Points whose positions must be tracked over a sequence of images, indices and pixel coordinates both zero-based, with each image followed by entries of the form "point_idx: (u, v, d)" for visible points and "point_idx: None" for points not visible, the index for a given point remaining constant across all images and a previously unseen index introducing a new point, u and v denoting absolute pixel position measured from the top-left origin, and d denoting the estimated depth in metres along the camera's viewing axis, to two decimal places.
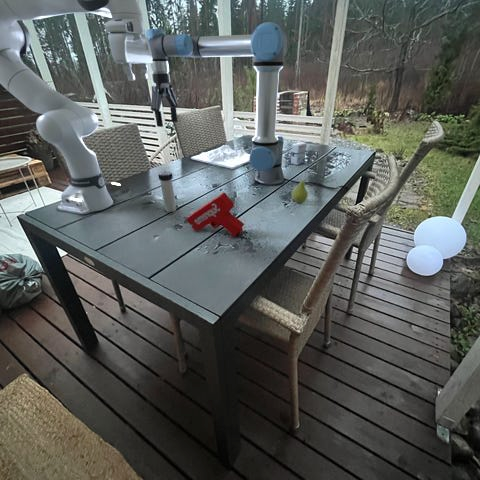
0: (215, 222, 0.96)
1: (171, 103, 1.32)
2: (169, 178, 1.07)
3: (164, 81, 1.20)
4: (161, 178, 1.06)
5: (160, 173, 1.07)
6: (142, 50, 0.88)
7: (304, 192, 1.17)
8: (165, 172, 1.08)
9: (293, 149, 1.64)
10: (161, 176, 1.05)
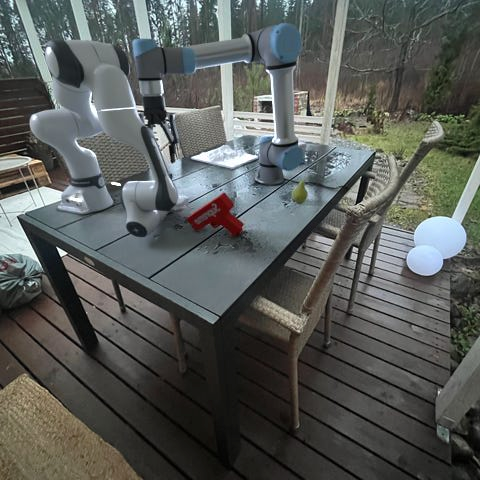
0: (215, 222, 0.96)
1: None
2: None
3: (144, 106, 0.92)
4: None
5: None
6: None
7: (304, 192, 1.17)
8: None
9: None
10: None
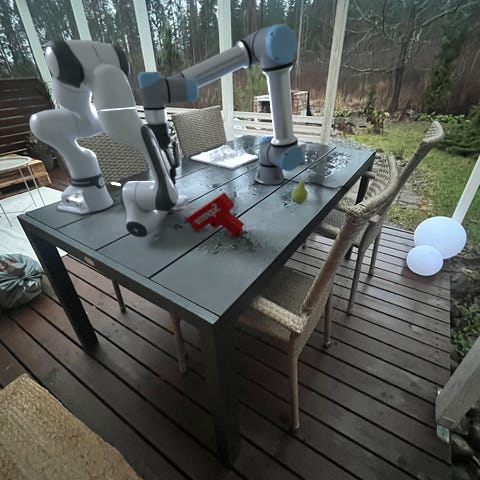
0: (215, 222, 0.96)
1: None
2: None
3: None
4: None
5: None
6: None
7: (304, 192, 1.17)
8: None
9: None
10: None
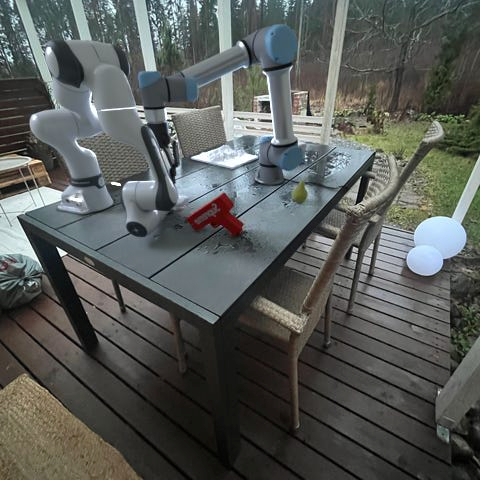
0: (215, 222, 0.96)
1: None
2: None
3: None
4: None
5: None
6: None
7: (304, 192, 1.17)
8: None
9: None
10: None
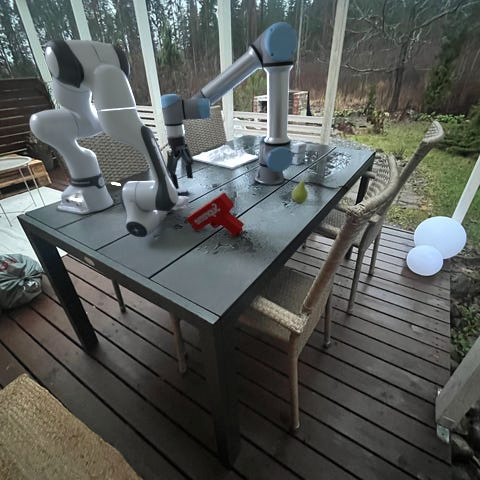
0: (215, 222, 0.96)
1: (186, 161, 1.27)
2: None
3: (180, 144, 1.14)
4: None
5: (185, 190, 1.28)
6: None
7: (304, 192, 1.17)
8: (181, 190, 1.28)
9: (293, 149, 1.64)
10: None
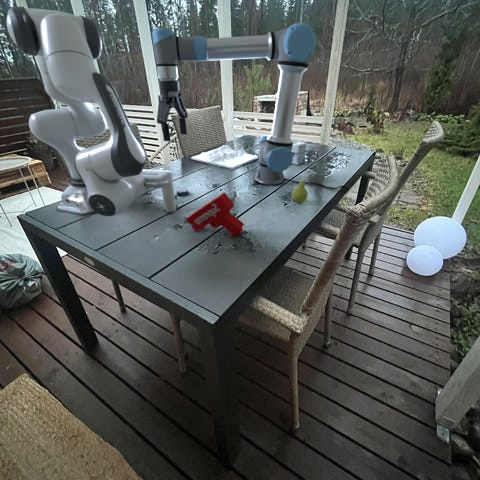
0: (215, 222, 0.96)
1: (180, 113, 1.16)
2: None
3: (172, 89, 1.03)
4: None
5: (185, 190, 1.28)
6: None
7: (304, 192, 1.17)
8: (181, 190, 1.28)
9: (293, 149, 1.64)
10: None
